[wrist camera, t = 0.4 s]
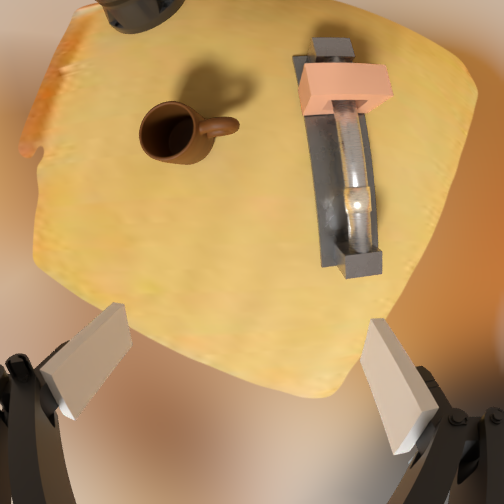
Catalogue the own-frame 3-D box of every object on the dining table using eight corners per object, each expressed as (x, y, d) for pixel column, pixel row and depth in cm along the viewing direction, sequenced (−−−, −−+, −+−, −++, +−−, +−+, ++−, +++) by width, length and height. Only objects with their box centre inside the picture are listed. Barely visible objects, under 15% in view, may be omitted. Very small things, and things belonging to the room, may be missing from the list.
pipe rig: (292, 58, 32) (295, 34, 25) (349, 57, 31) (363, 35, 24) (321, 266, 40) (330, 285, 32) (376, 259, 39) (396, 276, 31)
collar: (297, 90, 32) (304, 63, 23) (362, 88, 31) (385, 65, 22) (302, 115, 33) (311, 95, 24) (367, 113, 32) (393, 95, 23)
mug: (244, 109, 35) (234, 89, 26) (247, 159, 37) (238, 153, 28) (165, 120, 36) (137, 107, 27) (167, 168, 38) (138, 166, 29)
